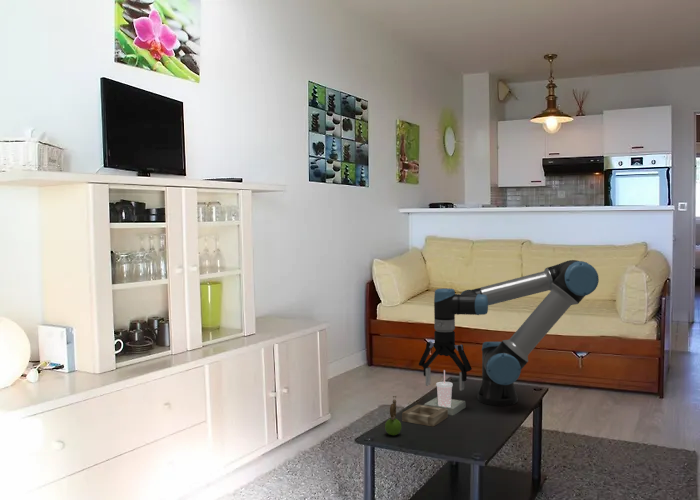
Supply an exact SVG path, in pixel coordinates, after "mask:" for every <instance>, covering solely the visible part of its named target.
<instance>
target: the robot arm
mask: <svg viewBox="0 0 700 500" xmlns="http://www.w3.org/2000/svg"><path fill="white" fill-rule="evenodd" d="M598 285H599V273H598V271H597V270H596V268H595V267H594V266H593V265H591V264H589V262H586V261H583V260H576V259H571V260H567V261H566V260H565V261H563V262H560V263H558V264H555V265H551V266H547V267H544V270H542V271H540V272H536V273H531V274H528V275H524V276H520V277H515V278H512V279H507V280H504V281H500V282H497V283H493V284H488V285H485V286H481V287H477V288H473V289H466V290H464V291H462V292H461V293H460V294H458V293H456V292H455V291H456V290H455V289H453V288H442V287H441V288H437V289H435V291H434V299H433V304H434V305H433V308H434V311H433V312H434V316H433V317H434V321H433V322H434V330H435V331H434V334H433V335H434V336H433V337H434V342H432V341H431V340H430V341H428V342H426V346H425V349H424V352H423V353H422V356H421V358H420V359H419V362H418V366H419V367H422V369H423V377H425V386H426V387H428V386H430V385H431V384H432V383H431V380H432V379H431V376H432V374H431V367H430V365H431V364H432V363H433V361H434V360H435V359H436V358H437V357H438V356H444V357H450V359H451V360H453V361H454V363H455V365H456V366H457V367H458V369H459V370H460V371H459V391H463V390H465V382H466V381H467V380H468V379H467V373H468V372H470V371H471V370H472V369H473V368H472V366H471V364H470V362H469V359H468V357H467V355H466V352H465V351H464V350H465V349H464V344H462V343H461V344H456V342H455V341H456V332H455V331H454V330H455V329H456V321H455V320H456V317H455V316H456V315H457V316H458V315H464V316H465V315H467V316H468V315H469V316H471V315H472V316H474V315H475V316H481V315H482V316H483V315H487V314H488V312H489V306H491V305H492V306H493V305H495V304H500V303H504V302H508V301H511V300H515V299H519V298H524V297H528V296H531V295H536V294H540V293H544V292H548V291H549V292H548V294H547V295H546V296H545V297H544V298H543V299H542V301H541V302H539V304H538V306H536V308H535V309H534V310H533V311H532V312H531V313H530V315H529V316H528V317H527V318H526V320H524V321H523V323H522V324H521V325H520V326H519V327H518V329H517V330H516V331H515V332H514V333H513V335H512V336H510V338H508V339H504V340H503V339H502V340H501V341H484V342H482V347H481V355H482V356H481V359H482V360H481V362H482V363H481V366H482V367H481V368H482V369H481V372H482V373H481V374H482V375H481V379H482V380H481V383H480V386H479V389H478V392H477V401H478V402H479V403H482V404H485V405H491V406H498V407H499V406H512V405H515V404H517V403H518V401H519V399H518V397H519V396H518V394H517V391H516V386H515V384H514V383H515V382H516V381H517V380H518V379H519V378H520V375H521V373H522V370H523V368H524V367H525V366H526V365H527V364H528V363H529V355H530V354H531V353H532V351H533V350H534V349H535V348H536V346H538V344H539V343H540V342H541V341H542V340H543V339H544V337H546V335H547V334H548V333H549V332H550V331H551V329H552V328H553V327H554V326H555V324H556V323H557V322H558V321H559V320H560V319H561V318H562V316H563V315H564V314H565V313H566V312H567V311H568V310H569V308H570V307H571V306H575V305H578V304H580V303H581V301H582V300H583V299H584V298H585V297H586V296H588V295H590V294H592V293H593V292H594V291H595V290H596V289H597V287H598ZM432 348H433V349H435V351H433V353H432V354H431V355H430V353H431V350H432ZM455 350H456V351H457V352H458V355H459V356H458V355H457V353H456V351H455ZM429 355H430V357H429ZM428 357H429V358H428ZM459 357H460V358H459ZM453 361H452V362H453Z"/></svg>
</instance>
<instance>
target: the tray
mask: <svg viewBox="0 0 700 500" xmlns="http://www.w3.org/2000/svg"><path fill="white" fill-rule="evenodd" d="M423 405H424V406H430V407H437V408H443V409H448V416H455V415H456V414H458V413H459V412H462V410H464V409H465V408H466V400H461V399H453V398H451V407H445V406H438V396H436V397H434V398H433V399H431V400H429V401H426V402H425V403H424V404H423Z"/></svg>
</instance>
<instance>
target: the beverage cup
mask: <svg viewBox="0 0 700 500" xmlns="http://www.w3.org/2000/svg"><path fill="white" fill-rule="evenodd" d="M435 386H436V390H437V397H438V406H445V407H451V399H452V393H453V391H452V390H453V386H454V385H453V382H450V381H446V370H445V369H443V381H439V382H438V381H437V382H436V383H435Z"/></svg>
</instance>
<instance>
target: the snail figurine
mask: <svg viewBox="0 0 700 500" xmlns="http://www.w3.org/2000/svg"><path fill="white" fill-rule="evenodd" d="M392 398H393V400H392V403H391V404H390V407H389V416H390V418H388V419H387V420H386V422H385V424H384V430H385V432H386V434H388V435H389V436H397V435H399V434H400V433H401V431H402V423H401V421H400V420H399V419H398V418H396V416H397V395H392Z"/></svg>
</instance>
